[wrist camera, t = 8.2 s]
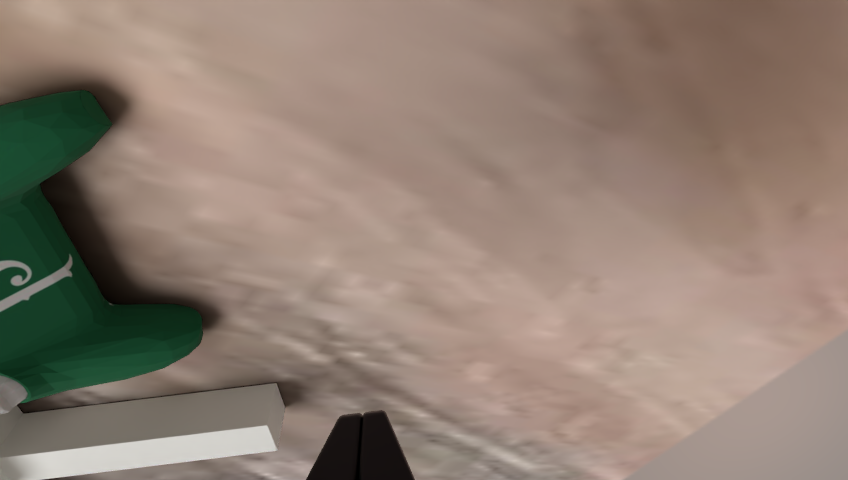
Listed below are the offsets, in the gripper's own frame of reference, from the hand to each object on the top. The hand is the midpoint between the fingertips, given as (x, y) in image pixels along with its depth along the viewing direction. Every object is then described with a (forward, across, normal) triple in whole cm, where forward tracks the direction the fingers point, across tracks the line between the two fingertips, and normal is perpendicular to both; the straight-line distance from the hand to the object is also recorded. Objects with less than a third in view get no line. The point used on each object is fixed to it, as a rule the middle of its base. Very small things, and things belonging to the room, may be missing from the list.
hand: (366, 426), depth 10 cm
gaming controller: (+9, +9, 0) cm, 13 cm away
